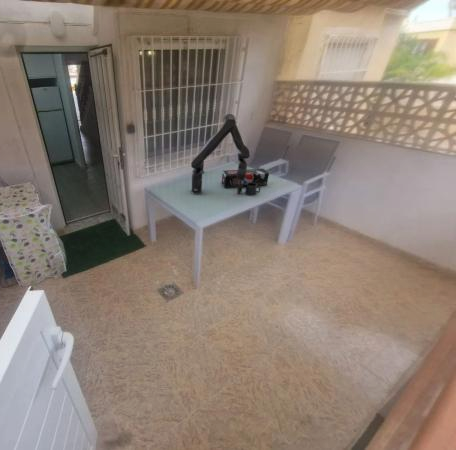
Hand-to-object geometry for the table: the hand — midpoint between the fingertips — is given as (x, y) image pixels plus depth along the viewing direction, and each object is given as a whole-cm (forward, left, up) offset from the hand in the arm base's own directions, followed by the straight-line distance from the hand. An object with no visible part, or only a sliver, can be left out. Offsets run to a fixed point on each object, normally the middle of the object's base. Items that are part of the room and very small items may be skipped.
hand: (239, 190), depth 223 cm
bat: (0, 0, -3) cm, 3 cm away
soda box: (-17, +13, -3) cm, 22 cm away
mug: (+4, +11, -3) cm, 12 cm away
